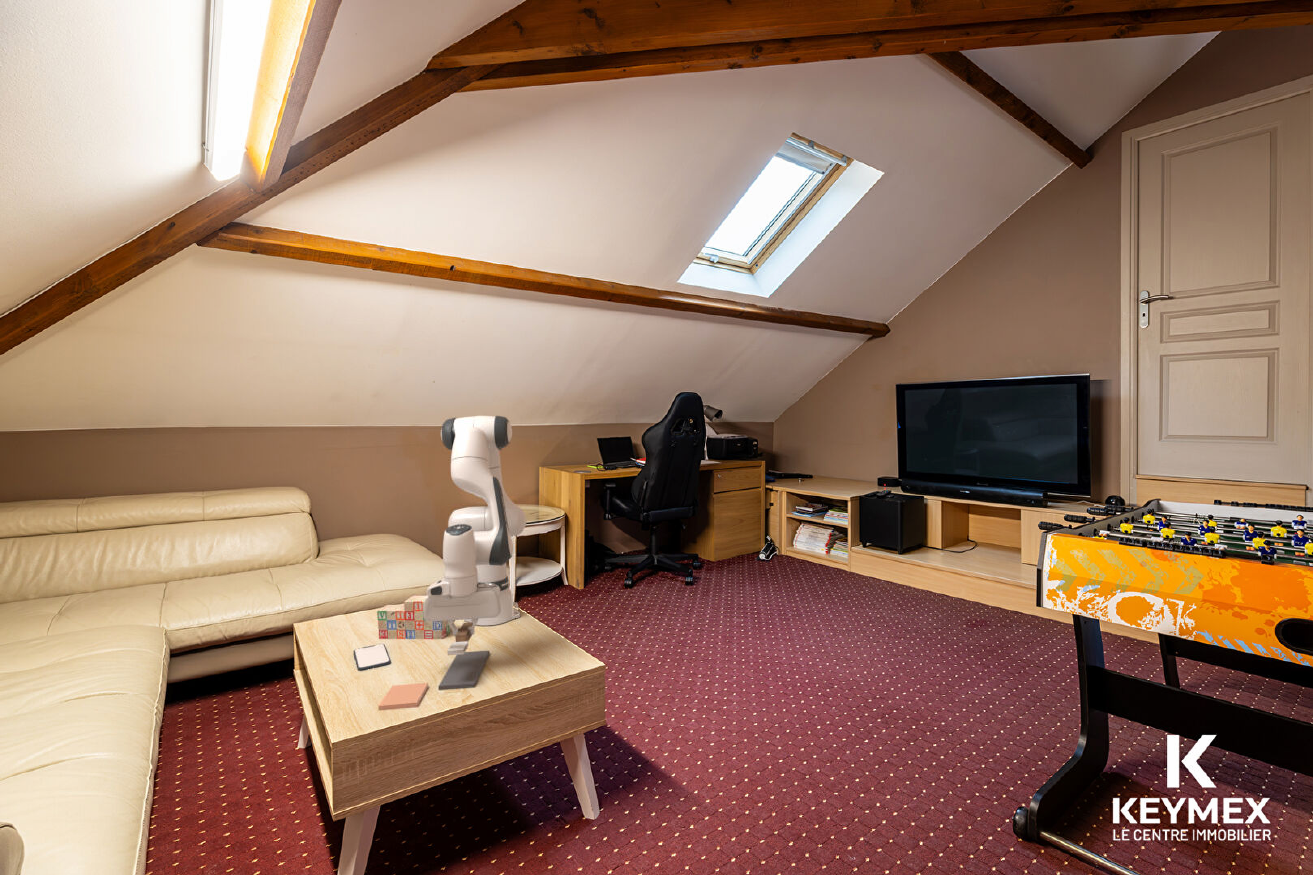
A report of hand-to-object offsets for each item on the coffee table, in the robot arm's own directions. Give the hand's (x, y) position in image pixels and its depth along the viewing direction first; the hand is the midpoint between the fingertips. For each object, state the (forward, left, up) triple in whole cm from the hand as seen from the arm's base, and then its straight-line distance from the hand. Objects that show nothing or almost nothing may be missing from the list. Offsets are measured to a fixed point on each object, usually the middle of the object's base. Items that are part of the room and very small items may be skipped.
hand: (463, 634), depth 171 cm
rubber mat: (0, 0, -10) cm, 10 cm away
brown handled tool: (+2, 0, -2) cm, 3 cm away
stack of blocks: (-31, -23, -11) cm, 40 cm away
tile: (+9, -12, -10) cm, 18 cm away
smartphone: (-14, -30, -11) cm, 35 cm away
